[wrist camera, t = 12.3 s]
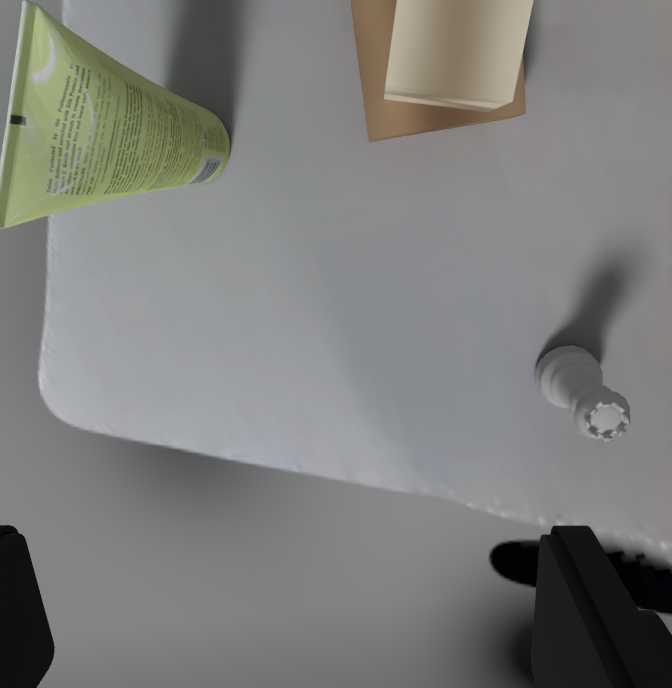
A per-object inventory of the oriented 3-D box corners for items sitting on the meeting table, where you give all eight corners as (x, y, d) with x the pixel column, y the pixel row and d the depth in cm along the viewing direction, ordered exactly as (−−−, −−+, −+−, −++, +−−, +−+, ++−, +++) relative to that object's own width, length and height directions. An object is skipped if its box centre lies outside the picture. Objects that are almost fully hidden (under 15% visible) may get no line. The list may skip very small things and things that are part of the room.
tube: (140, 114, 36) (-106, 66, 18) (208, 81, 35) (22, -5, 17) (179, 196, 38) (-10, 231, 19) (245, 167, 37) (113, 174, 18)
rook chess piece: (537, 341, 39) (575, 384, 32) (601, 344, 39) (655, 389, 31) (528, 398, 41) (562, 453, 33) (589, 402, 40) (638, 458, 33)
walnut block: (500, -45, 32) (516, -72, 29) (509, 118, 35) (525, 113, 31) (349, -14, 33) (345, -36, 30) (369, 142, 36) (368, 140, 32)
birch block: (511, -8, 30) (543, -49, 24) (488, 112, 31) (512, 101, 26) (400, -22, 30) (405, -65, 24) (384, 99, 32) (385, 85, 26)
